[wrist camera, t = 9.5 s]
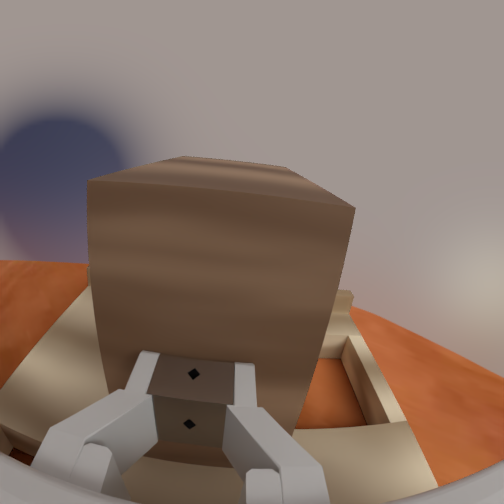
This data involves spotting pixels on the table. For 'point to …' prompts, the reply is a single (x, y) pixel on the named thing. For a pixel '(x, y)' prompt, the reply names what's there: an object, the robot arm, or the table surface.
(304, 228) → the block
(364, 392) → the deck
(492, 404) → the table surface
